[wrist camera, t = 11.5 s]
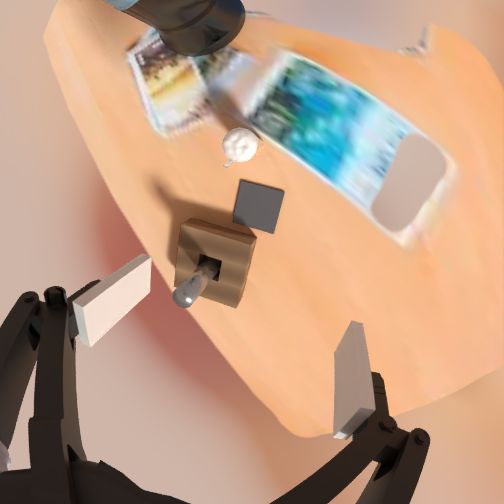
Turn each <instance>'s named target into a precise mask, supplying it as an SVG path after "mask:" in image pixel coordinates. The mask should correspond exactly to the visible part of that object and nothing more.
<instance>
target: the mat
mask: <svg viewBox="0 0 504 504" xmlns="http://www.w3.org/2000/svg"><path fill="white" fill-rule="evenodd" d="M283 196H284V192H283V191H279V190H275V189H272V188H268V187H264V186H261V185H257V184H253V183H249V182H245V181H241V185H240V189H239V194H238V198H237V203H236V208H235V212H234V217H233V222H234V223H237V224H241V225H244V226H248V227H251V228H255V229H258V230H262V231H265V232H268V233H272V234H274V230H275V227H276V223H277V219H278V215H279V212H280V208H281V204H282V200H283Z"/></svg>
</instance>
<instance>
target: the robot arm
mask: <svg viewBox="0 0 504 504" xmlns="http://www.w3.org/2000/svg"><path fill="white" fill-rule="evenodd" d="M104 1H105V2H107V3H109V4H111V5H112V6H114V8H115V9H117V10H120V11H122V12H124V13H126V14H128V15H131V16H133V17H135V18H137V19H139V20H141V21H143V22H144V23H146V24H148V25H150V26H152V27H154V28H155V29H156V30H157V32H158V33H159V35H160V37H161V40H162V41H163V43H164V44H165V45H166V46H167V47H168V48H169V49H171V50H173V51H174V52H176V53H178V54H181V55H184V56H192V57H193V56H203V55H207V54H210V53H213V52H215V51H217V50H219V49H221V48H223V47H224V46H226V45H227V44H229V43H230V42H231V41H232V40H233V39H234V38H235V37H236V36H237V35H238V33H239V32H240V30H241V29H242V27H243V24H244V21H245V9H244V6H243V4H242V2H241V1H240V0H104ZM151 258H152V257H150V256H148V255H145V254H141V255H139V256H138V257H136V258H135V259H133V260H132V261H130V262H128V263H127V264H125V265H124V266H122V267H121V268H120V269H118V270H117V271H115V272H114V273H112V274H111V275H109V276H108V277H106V278H105V279H104V280H102V281H101V280H96V281H92V282H90V283H89V284H87V285H86V286H85V287H83V288H81V289H80V290H78V291H77V292H76V293H74V294H73V295H71V296H70V297H68V298H66V291H65V289H64V288H62V287H59V286H53V287H50V288H48V289H46V290H45V292H44V297H45V302H42V301H39V296H38V294H37V293H36V292H33V291H29V292H25V293H23V294H22V295H21V296H20V297H19V299H18V300H17V302H16V304H15V305H14V306H13V308H12V310H11V311H10V313H9V314H8V316H7V317H6V319H5V321H4V322H3V324H2V325H1V327H0V504H190V503H187V502H184V501H182V500H179V499H177V498H174V497H172V496H167V495H162V494H158V493H153V492H149V491H145V490H143V489H141V488H140V487H138V486H137V485H136V484H135V483H134V482H132V481H131V480H130V479H129V478H128V477H126V476H125V475H124V474H123V473H122V472H120V471H118V470H116V469H115V468H113V467H111V466H110V465H108V464H106V463H105V462H103V461H101V460H100V462H99V463H96V462H91V461H87V459H86V455H85V452H84V450H83V447H82V442H81V435H80V427H79V419H78V408H77V394H76V367H75V352H76V347H75V346H76V341H75V337H76V336H77V335H78V334H79V337H80V341H81V342H82V343H84V344H85V345H87V346H89V347H92V345H94V344H95V343H96V342H97V341H98V340H99V339H100V338H101V337H102V336H103V335H104V334H105V333H106V332H107V331H108V330H109V329H110V328H111V327H112V326H113V325H115V324H116V323H117V322H118V321H119V320H120V319H121V318H122V317H123V316H124V315H125V314H126V313H127V312H129V311H130V310H131V309H132V308H133V307H134V306H135V305H136V304H137V303H138V302H139V301H140V300H141V299H143V298H144V297H145V296H146V295H147V294H148V293H149V292H150V277H151ZM334 358H335V393H334V426H333V438H340V439H346V440H347V439H348V438H349V437H350V436H351V435H352V434H353V441H352V442H351V443H349V444H348V445H347V446H346V447H345V448H344V449H343V450H342V451H340V452H339V453H338V454H337V455H336V456H335V457H334V458H332V459H331V460H330V461H329V462H328V463H326V464H325V465H324V466H323V467H321V468H320V469H319V470H318V471H316V472H315V473H314V474H313V475H311V476H310V477H308V478H307V479H306V480H304V481H303V482H302V483H300V484H299V485H297V486H296V487H294V488H293V489H292V490H290V491H289V492H287V493H286V494H284V495H283V496H281V497H279V498H278V499H276V500H275V501H273V502H271V503H270V504H327V503H329V502H330V501H331V500H332V499H333V498H334V497H336V496H337V495H338V494H339V493H340V492H341V491H342V490H343V489H344V488H346V487H347V486H348V485H349V484H350V483H351V482H352V481H353V480H354V479H355V478H356V477H357V476H358V475H359V474H360V473H361V472H362V471H363V470H364V469H365V468H366V467H367V465H368V464H369V463H370V462H371V461H372V460H373V461H376V462H378V465H377V467H376V469H375V471H374V473H373V474H372V477H371V478H370V480H369V482H368V484H367V485H366V488H365V489H364V491H363V492H362V494H361V496H360V498H359V499H358V501H357V503H356V504H409V503H410V501H411V498H412V496H413V493H414V491H415V488H416V486H417V483H418V480H419V477H420V474H421V472H422V469H423V465H424V462H425V459H426V456H427V452H428V449H429V445H430V437H429V435H428V433H427V432H426V431H425V430H423V429H421V428H415V429H414V430H412V431H411V432H407V431H405V430H402V429H400V428H398V427H397V424H396V421H395V420H394V419H393V418H392V417H391V416H389V411H388V404H387V397H386V391H385V385H384V380H383V378H382V377H381V375H380V373H376V372H371V369H370V362H369V356H368V350H367V344H366V339H365V333H364V328H363V323H359V322H355V321H351V323H350V325H349V327H348V328H347V330H346V332H345V334H344V336H343V338H342V340H341V342H340V344H339V345H338V347H337V349H336V351H335V353H334ZM36 361H37V366H36V377H35V392H34V416H33V417H32V418H30V419H29V423H28V431H29V432H28V434H29V453H30V463H31V464H30V465H31V468H30V469H21V470H11V471H8V470H7V467H8V466H10V464H11V460H10V458H9V453H8V448H9V445H10V443H11V440H12V437H13V433H14V430H15V426H16V422H17V418H18V414H19V411H20V407H21V404H22V401H23V398H24V394H25V391H26V388H27V385H28V382H29V379H30V377H31V374H32V371H33V369H34V366H35V363H36Z"/></svg>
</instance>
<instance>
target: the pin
mask: <svg viewBox="0 0 504 504" xmlns="http://www.w3.org/2000/svg"><path fill="white" fill-rule="evenodd" d="M221 265H222V260H218V259H215V258H212V257H209V256H208V257H207V258H206V259H205V260H204V261H203V262H202V263H201V264H200V265H199V266H198V267H197V268H196V269H195V270H194V271H193V272H192V273H191V274H190V275H189V276H188V277H187V278H186V279H185V280H184V281H183V282H182V283H181V284H180V285H179V287H178V288H177V289H176V290H175V291H174V292H173V300H174V301H175V303H176V304H177V305H178V306H180V307H182V308H188V307H190V306H191V305H192V304H193V302H194V301H195V300H196V299H197V297H198V296H199V295H200V294H201V292H202V291H203V290H204V289H205V287H206V286H207V285H208V284H209V282H210V281H211V280H212V279H213V277H214V276H215V275H216V274H217V273H218V271H219V270H220V269H221Z"/></svg>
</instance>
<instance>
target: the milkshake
mask: <svg viewBox="0 0 504 504" xmlns="http://www.w3.org/2000/svg"><path fill="white" fill-rule="evenodd" d="M222 144H223V150H224V153H225V155H226V156H227V157H228V158H229V159H231V160H230V161H228V162H227V163H226V164H225V165H224V167H228V166H229V165H230V164H231V163H232V162H233V161H236V162H244V161H247V160H249V159H251V158H252V157H254V156H256V155H258V154H260V153H261V152H262V150H263V148H264V145H263V141H262V140H261V139H260V138H259V137H258V136H257V135H255V134H254V133H253V132H251V131H250V130H248V129H246V128H235V129H232V130H230V131H229V132H228V133H227V134H226V135H225V137H224V139H223V143H222Z"/></svg>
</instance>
